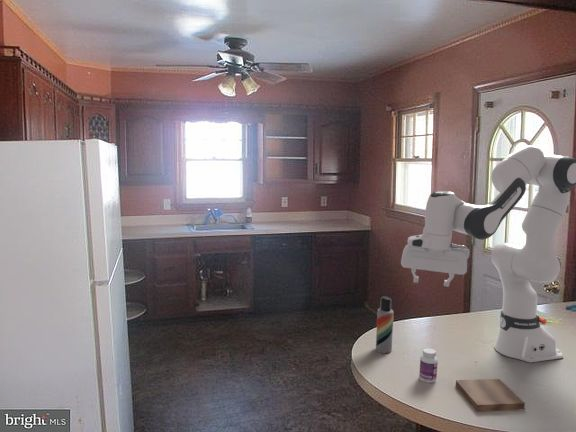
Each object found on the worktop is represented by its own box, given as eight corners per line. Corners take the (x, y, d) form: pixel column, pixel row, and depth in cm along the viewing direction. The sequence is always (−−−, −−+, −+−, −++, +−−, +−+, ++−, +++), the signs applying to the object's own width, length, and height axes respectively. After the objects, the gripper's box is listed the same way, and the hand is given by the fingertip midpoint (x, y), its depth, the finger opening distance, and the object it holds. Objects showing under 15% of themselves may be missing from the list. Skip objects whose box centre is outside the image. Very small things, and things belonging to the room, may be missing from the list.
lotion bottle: (374, 346, 176) (376, 294, 173) (389, 346, 177) (391, 294, 174) (378, 353, 171) (380, 300, 168) (393, 353, 171) (396, 299, 168)
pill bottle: (437, 384, 150) (439, 355, 148) (419, 382, 151) (421, 353, 149) (435, 376, 155) (437, 348, 153) (418, 374, 156) (420, 346, 155)
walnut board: (498, 384, 150) (499, 378, 150) (524, 409, 136) (524, 403, 136) (455, 386, 149) (456, 380, 148) (477, 411, 135) (477, 405, 135)
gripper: (469, 244, 152) (463, 285, 154) (403, 236, 156) (398, 277, 158) (472, 247, 146) (466, 291, 148) (403, 240, 150) (398, 282, 152)
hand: (430, 284), depth 153 cm, fingers open, 8 cm apart
